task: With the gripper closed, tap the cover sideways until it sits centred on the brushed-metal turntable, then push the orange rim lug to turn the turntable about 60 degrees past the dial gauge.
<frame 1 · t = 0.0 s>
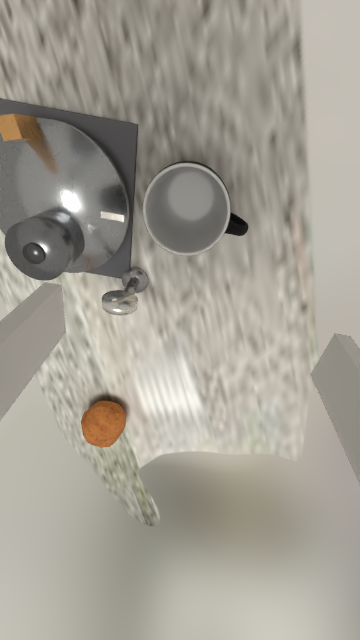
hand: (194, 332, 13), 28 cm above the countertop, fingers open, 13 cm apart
potato: (109, 407, 61), on the countertop
mug: (201, 201, 36), on the countertop
turntable: (51, 208, 33), point 5 cm above the countertop, hinge at 0.0°, touching cover
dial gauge: (135, 279, 43), on the countertop
cover: (58, 237, 37), point 4 cm above the countertop, touching turntable
turntable base: (68, 200, 37), on the countertop
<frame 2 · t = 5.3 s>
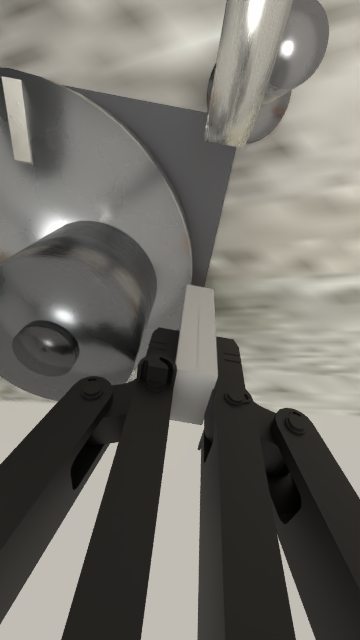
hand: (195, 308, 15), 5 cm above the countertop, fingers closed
turntable: (27, 280, 15), point 5 cm above the countertop, hinge at 0.0°
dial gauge: (246, 96, 14), on the countertop
cover: (98, 281, 16), point 4 cm above the countertop, touching gripper
turntable base: (66, 250, 19), on the countertop
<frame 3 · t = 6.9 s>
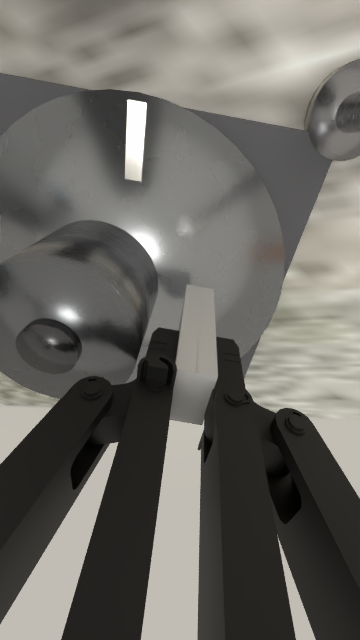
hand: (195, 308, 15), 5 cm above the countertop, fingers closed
turntable: (122, 295, 15), point 5 cm above the countertop, hinge at 0.0°, touching cover
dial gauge: (345, 114, 14), on the countertop
cover: (100, 280, 16), point 4 cm above the countertop, touching gripper, turntable
turntable base: (140, 262, 19), on the countertop
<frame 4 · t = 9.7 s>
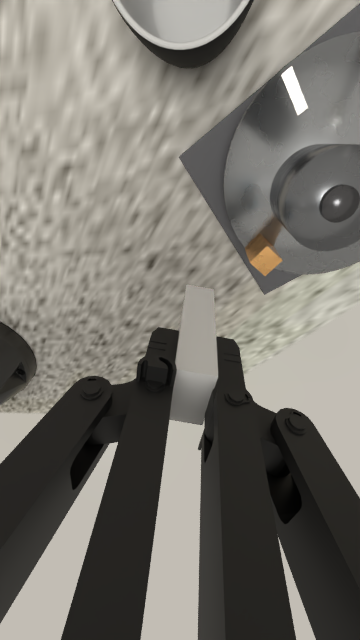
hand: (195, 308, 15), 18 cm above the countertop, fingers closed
turntable: (334, 179, 23), point 5 cm above the countertop, hinge at 0.0°, touching cover
cover: (310, 190, 24), point 4 cm above the countertop, touching turntable
turntable base: (315, 173, 27), on the countertop
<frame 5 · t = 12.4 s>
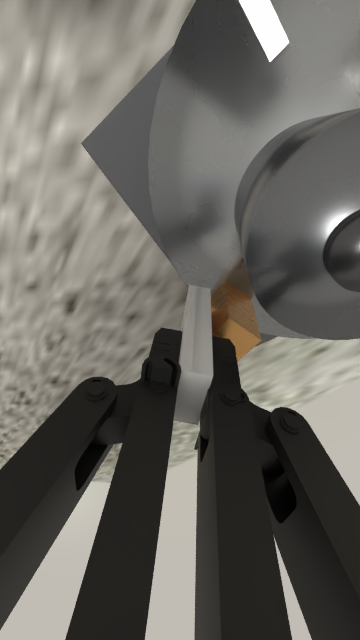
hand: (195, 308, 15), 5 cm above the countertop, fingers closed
turntable: (354, 185, 11), point 5 cm above the countertop, hinge at 4.3°, touching cover, gripper
cover: (307, 206, 13), point 4 cm above the countertop, touching turntable
turntable base: (316, 173, 15), on the countertop
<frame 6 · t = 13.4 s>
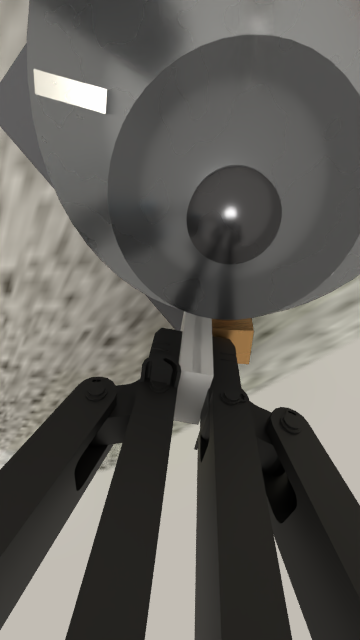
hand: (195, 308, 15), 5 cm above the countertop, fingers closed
turntable: (240, 140, 10), point 5 cm above the countertop, hinge at 40.9°, touching cover, gripper
cover: (226, 182, 12), point 4 cm above the countertop, touching turntable
turntable base: (234, 137, 14), on the countertop
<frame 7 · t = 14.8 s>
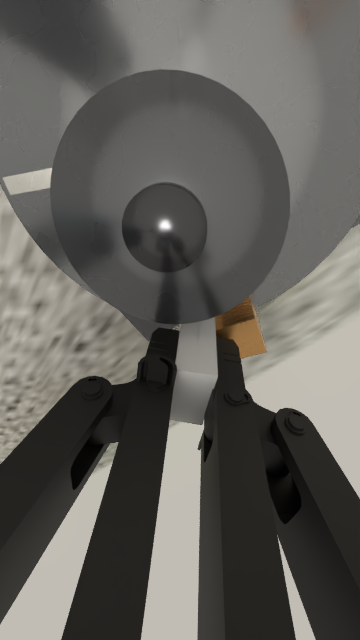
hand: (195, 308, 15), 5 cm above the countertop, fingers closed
turntable: (174, 155, 11), point 5 cm above the countertop, hinge at 63.0°, touching cover
cover: (183, 194, 13), point 4 cm above the countertop, touching turntable
turntable base: (183, 151, 15), on the countertop
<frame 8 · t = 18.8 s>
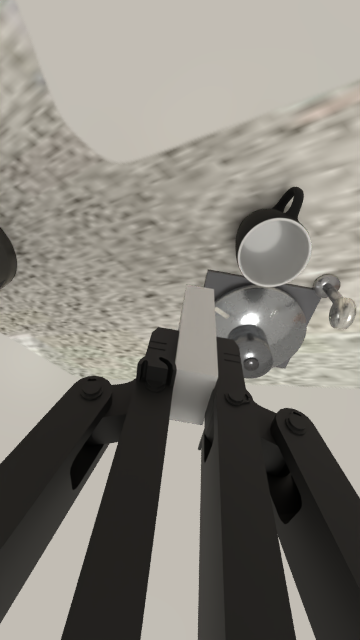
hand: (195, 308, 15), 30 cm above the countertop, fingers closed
mug: (265, 222, 42), on the countertop
turntable: (253, 338, 47), point 5 cm above the countertop, hinge at 63.0°, touching cover
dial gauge: (325, 285, 46), on the countertop
cover: (246, 340, 49), point 4 cm above the countertop, touching turntable
turntable base: (250, 322, 51), on the countertop
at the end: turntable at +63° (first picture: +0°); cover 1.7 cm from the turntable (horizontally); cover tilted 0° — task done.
